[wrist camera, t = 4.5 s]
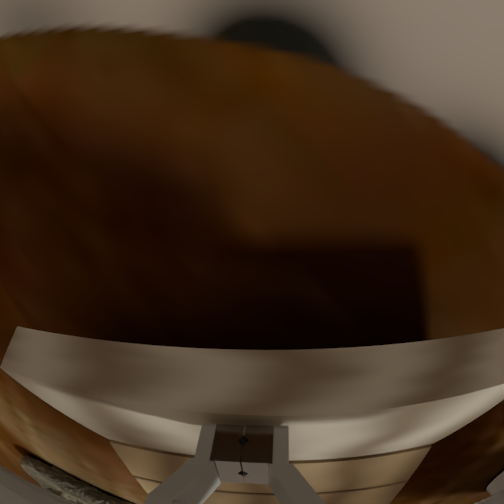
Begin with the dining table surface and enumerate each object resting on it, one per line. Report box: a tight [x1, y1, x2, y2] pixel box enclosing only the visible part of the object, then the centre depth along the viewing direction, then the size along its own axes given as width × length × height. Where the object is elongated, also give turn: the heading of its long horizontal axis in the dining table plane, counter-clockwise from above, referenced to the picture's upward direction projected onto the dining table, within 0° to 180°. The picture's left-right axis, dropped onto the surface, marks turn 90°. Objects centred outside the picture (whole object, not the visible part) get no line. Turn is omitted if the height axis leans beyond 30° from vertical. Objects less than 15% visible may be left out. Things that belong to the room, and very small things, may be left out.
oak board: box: [109, 439, 431, 504], centre depth 21 cm, size 24×12×3 cm, turn 93°
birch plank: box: [0, 326, 504, 461], centre depth 14 cm, size 24×12×2 cm, turn 93°
